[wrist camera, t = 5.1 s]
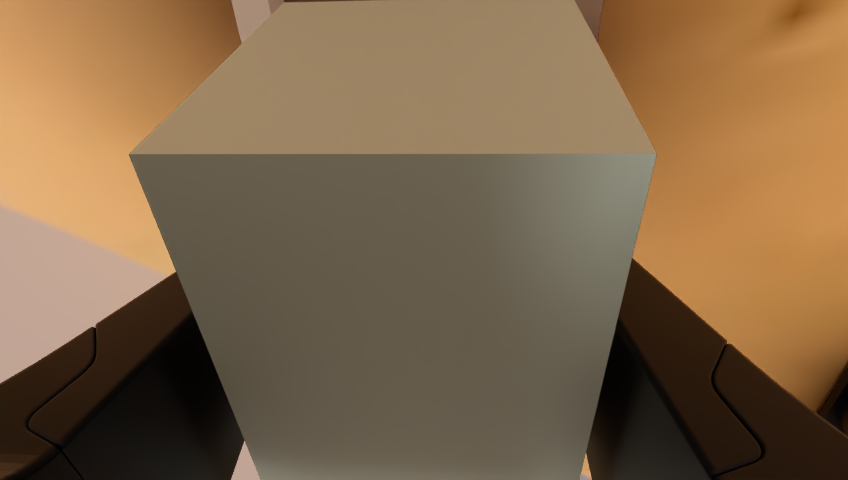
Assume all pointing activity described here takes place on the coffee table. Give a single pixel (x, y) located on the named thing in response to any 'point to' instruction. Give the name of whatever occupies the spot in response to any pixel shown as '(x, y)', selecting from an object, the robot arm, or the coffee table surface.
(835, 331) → the coffee table surface
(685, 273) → the coffee table surface
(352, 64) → the tea tin
